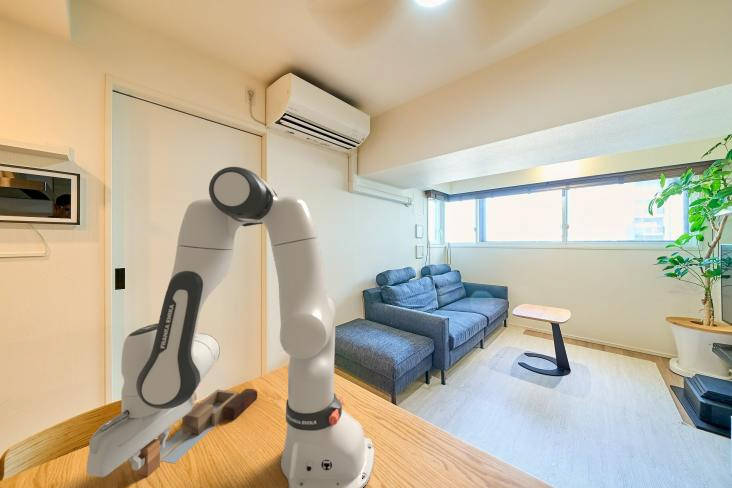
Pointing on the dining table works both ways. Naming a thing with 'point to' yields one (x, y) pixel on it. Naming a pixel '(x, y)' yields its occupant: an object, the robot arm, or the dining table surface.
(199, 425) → the tethered block
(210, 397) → the shelf lane
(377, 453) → the dining table surface
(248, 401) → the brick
